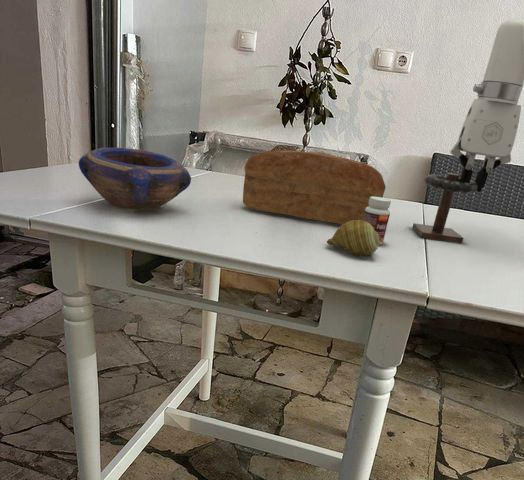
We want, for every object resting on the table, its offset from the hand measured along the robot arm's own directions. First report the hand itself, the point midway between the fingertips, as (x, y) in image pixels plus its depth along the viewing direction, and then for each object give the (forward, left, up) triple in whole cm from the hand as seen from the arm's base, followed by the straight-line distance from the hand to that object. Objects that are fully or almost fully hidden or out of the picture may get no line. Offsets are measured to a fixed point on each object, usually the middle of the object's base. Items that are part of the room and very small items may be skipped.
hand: (470, 189), depth 108 cm
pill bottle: (+21, +15, -11) cm, 28 cm away
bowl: (+68, +13, -11) cm, 70 cm away
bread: (+33, -1, -11) cm, 35 cm away
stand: (+4, 0, -11) cm, 12 cm away
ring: (+4, 0, +1) cm, 4 cm away
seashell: (+26, +25, -11) cm, 38 cm away
